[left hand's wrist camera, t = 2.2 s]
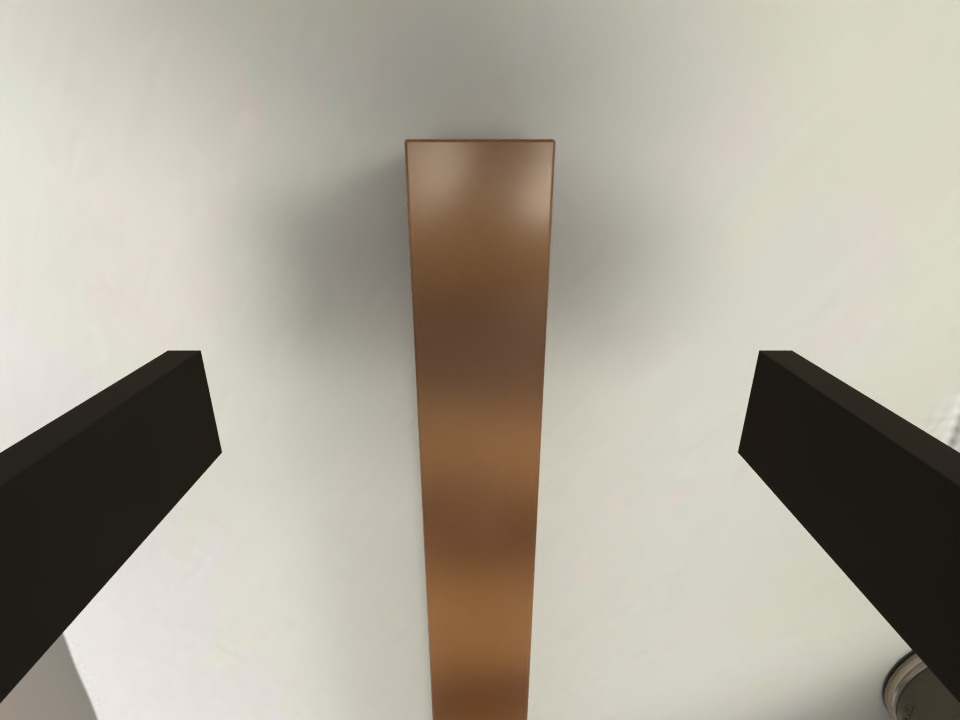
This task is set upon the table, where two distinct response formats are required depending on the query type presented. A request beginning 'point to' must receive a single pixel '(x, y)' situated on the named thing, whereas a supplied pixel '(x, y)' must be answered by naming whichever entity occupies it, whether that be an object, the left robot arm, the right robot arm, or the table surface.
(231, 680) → the table surface
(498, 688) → the post
